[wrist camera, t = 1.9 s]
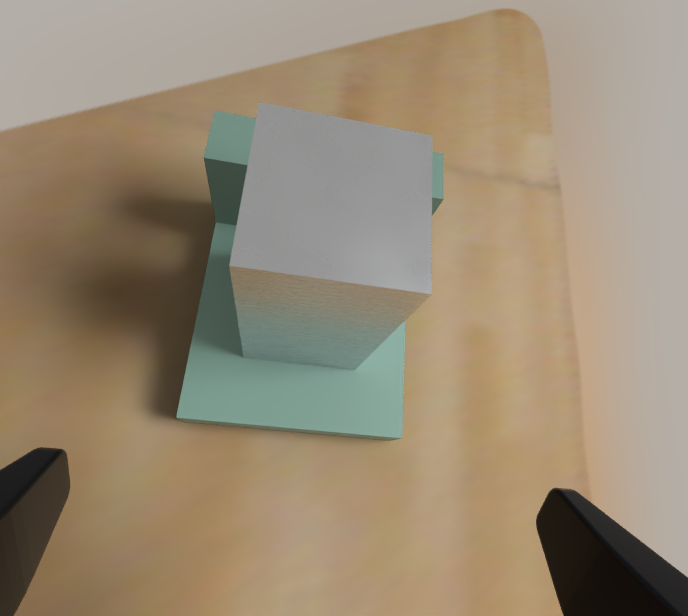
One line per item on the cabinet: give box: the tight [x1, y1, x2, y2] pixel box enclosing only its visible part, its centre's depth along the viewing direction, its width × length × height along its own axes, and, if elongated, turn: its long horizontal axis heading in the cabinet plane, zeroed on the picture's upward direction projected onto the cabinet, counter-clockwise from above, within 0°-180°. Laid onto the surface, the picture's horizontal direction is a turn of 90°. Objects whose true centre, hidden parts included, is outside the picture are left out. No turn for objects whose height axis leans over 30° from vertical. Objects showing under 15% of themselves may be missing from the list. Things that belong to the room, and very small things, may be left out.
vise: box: [176, 111, 443, 440], centre depth 20 cm, size 12×10×7 cm
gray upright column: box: [229, 102, 432, 370], centre depth 17 cm, size 5×5×10 cm
